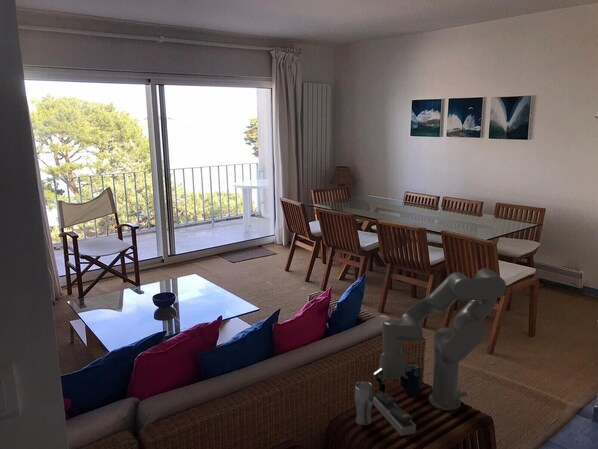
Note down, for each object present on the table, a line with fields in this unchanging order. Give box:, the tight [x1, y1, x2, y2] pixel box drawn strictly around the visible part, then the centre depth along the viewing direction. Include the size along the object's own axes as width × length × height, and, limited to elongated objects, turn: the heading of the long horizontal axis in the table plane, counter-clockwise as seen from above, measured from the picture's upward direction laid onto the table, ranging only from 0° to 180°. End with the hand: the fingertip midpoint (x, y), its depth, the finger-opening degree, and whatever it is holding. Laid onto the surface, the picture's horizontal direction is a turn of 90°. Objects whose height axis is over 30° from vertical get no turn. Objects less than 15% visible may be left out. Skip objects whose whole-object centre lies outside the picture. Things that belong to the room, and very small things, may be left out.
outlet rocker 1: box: [375, 392, 398, 405], centre depth 192 cm, size 4×10×1 cm, turn 18°
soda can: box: [403, 362, 422, 396], centre depth 205 cm, size 7×7×12 cm
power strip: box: [372, 395, 417, 437], centre depth 187 cm, size 23×6×3 cm, turn 18°
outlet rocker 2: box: [390, 406, 414, 422], centre depth 181 cm, size 4×10×1 cm, turn 18°
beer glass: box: [354, 380, 374, 426], centre depth 184 cm, size 7×7×15 cm
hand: (393, 389), depth 197 cm, fingers open, 9 cm apart
